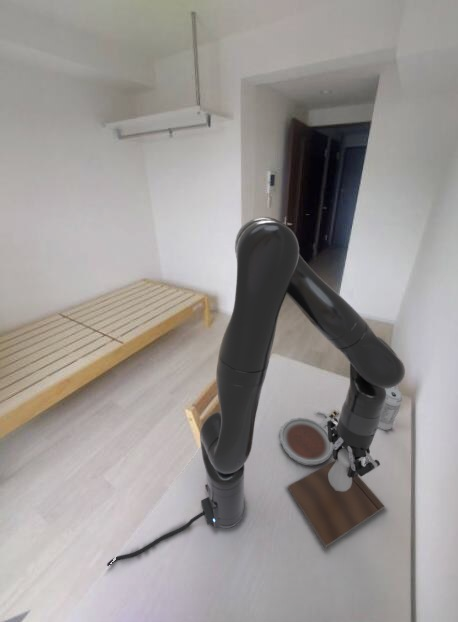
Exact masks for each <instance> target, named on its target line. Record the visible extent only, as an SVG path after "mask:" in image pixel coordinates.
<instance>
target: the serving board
mask: <svg viewBox="0 0 458 622" xmlns="http://www.w3.org/2000/svg"><path fill="white" fill-rule="evenodd" d="M336 461H337V460H334V461H333V462H331V463H329V464H327V465H325V466H323V467H322V468H319V469H318V470H315V471H314V472H311V473H310V474H307V476H304V477H303V478H300V479H299V480H297V481H295V482H293V483H292V484H290V485H288V488H287V490H288V492H290V494H291V496H292V497H293V499H294V501H295V502H296V504H297V505H298V507H299V509H300V511H301V512H302V513H303V515H304V517H305V519H306V520H307V522H308V523H309V525H310V526H311V529H313V532H314V533H315V534H316V537H317V538H318V539H319V542H320V543H321V545H322V546H323V547H324V549H326V548H328V547H329V546H331V545H333V544H334V543H335V542H337V541H338V540H340V539H341V538H343V537H344V536H346V535H347V534H348V533H350V532H352V531H353V530H354V529H356V528H358V527H359V526H360V525H362V524H364V522H365V523H366V521H368V520H369V519H371V518H372V517H374V516H375V515H376V514H378V513H380V512H381V511H383V510H384V508H385V505H384V504H383V502H381V501H380V499H379V498H378V496H377V495H375V493H373V491H372V490H371V489H370V487H368V486H367V484H366V483H365V482H364V481H363V480H362V478H361V476H359V475H358V476H356V477H354V478H352V484H351V487H350V488H349V489H348V490H347V491H344V492H341V491H335V489H334V488H333V487H332V486H331V485H330V482H329V479H328V473H329V471H330V469H331V468H332V466H333V465H334V464H335V462H336Z"/></svg>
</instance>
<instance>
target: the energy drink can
mask: <svg viewBox="0 0 458 622" xmlns="http://www.w3.org/2000/svg"><path fill="white" fill-rule="evenodd" d="M385 390H386V401H385V404H384V407H383V409H382V412H381V415H380V421H379V424H378V429H380V430H382V431H388V430H390V429H392V427H393V425H394V422H395V420H396V417H397V415H398V413H399V410H400V408H401V406H402V403H403V398H402V396H403V395H402V392H401V391H399V390H398V389H396V388H394V387H393V388H388V389H385Z"/></svg>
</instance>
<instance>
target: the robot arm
mask: <svg viewBox="0 0 458 622" xmlns="http://www.w3.org/2000/svg"><path fill="white" fill-rule="evenodd" d="M299 245H300V244H299V241H298V238H297V236H296V234H295V232H294V231H293V230H292V229H291V228H290V227H289V226H288V225H286V224H285V223H284V222H281V221H280V220H278V219H276V218H273V217H271V216H257V217H254V218H251V219H249V220H247V221H246V222H245V223H243V225H242V226H241V227H240V228H239V230H238V232H237V233H236V236H235V240H234V252H235V253H234V254H235V258H236V284H235V295H234V303H233V309H232V313H231V316H230V318H229V322H228V324H227V326H226V328H225V331H224V333H223V336H222V339H221V344H220V347H219V351H218V358H217V364H216V373H215V378H216V379H215V380H216V391H217V399H218V405H219V411H215V412H214V413H211V414H210V415H209V416H207V418H206V419H205V420H204V421H203V423H202V425H201V427H200V431H199V440H200V449H201V456H202V461H203V462H202V463H203V465H204V469H205V474H206V475H205V476H206V484H205V485H204V488H205V498H203V499H201V500H200V505H201V508H202V512H200V513H197V514H196V515H195V516H194V517H192V518H191V519H189V521H188V522H186V524H184V525H182V526H180V527H178V528H176V529H174V530H172V531H170V532H167V533H165V534H164V535H162V536H160V537H157V538H156V539H154V540H153V541H152V542H150V543H148V544H147V545H145V546H143V547H142V548H140V549H138V550H136V551H134V552H130V553H127V554H122V555H118V556H115V557H116V560H115V561H114V562H112V561H113V559H114V558H115V557H113V558H112V559H110V560H109V561H108V562H107V564H106V566H107V567H110V566H111V565H110V563H111V562H112V564H114V563H116V562H118V561H121V560H122V561H123V560H127V559H132V558H134V557H137V556H139V555H141V554H142V553H144V552H146V551H148V550H149V549H150V548H152V547H154V546H155V545H157V544H158V543H160V542H162V541H164V540H165V539H167V538H170V537H172V536H174V535H176V534H178V533H180V532H183V531H184V530H186V529H187V528H188V527H190V526H191V525H192V524H193V523H194V522H195V521H197V520H198V519H200V518H201V517H203V516H204V518H205V520H206V524H207V526H209V525H211V524H213V527H214V529H216V528H223V529H230V528H231V529H232V528H233V527H235V526H237V525H238V524H239V523H240V522H241V520H242V518H243V516H244V512H245V469H246V468H245V466H246V465H245V464H246V462H247V461H248V459H249V457H250V456H251V452H252V448H253V440H254V433H255V423H256V417H257V411H258V407H259V403H260V399H261V393H262V390H263V386H264V382H265V380H266V377H267V372H268V368H269V364H270V359H271V354H272V349H273V347H274V346H273V345H274V341H275V336H276V331H277V324H278V320H279V316H280V312H281V309H282V307H283V304H284V301H285V298H286V296H287V297H288V298H289V299H290V300H291V301H292V302H293V303H294V304H295V306H296V307H297V308H298V309H299V311H301V313H302V314H303V315H304V316H305V317H306V319H307V320H308V321H309V322H310V324H311V325H312V326H313V327H314V328H315V329H316V330H317V331H318V332H319V333H320V334H321V335H322V336H323V337H324V338H325V339H326V340H327V341H328V342H329V343H330V344H331V345H332V346H333V347H334V348H335V349H337V350H338V351H339V352H340V353H341V354H342V355H343V356H344V357H345V358H346V359H347V360H348V362H349V385H348V389H347V392H346V397H345V399H344V402H343V404H342V407H341V411H340V413H339V418H336V417H333V418H332V420H330V421H328V422H327V425H326V426H327V432H328V440H329V441H330V442H332V443H333V452H332V454H331V455H332V459H333V460H334V461H336V460H337V459H338V456H337V455H338V452H339V450H340V449H342V448H345V449H346V450H347V451H348V453H349V461H351V467H350V468H349V471H348V474H347V476H348V477H349V478H351V477H352V478H354V477H356V476H359V477H360V478H361V477H363V476H365V475H367V474H369V473H370V472H372V471H373V470H374V469H377V468H378V467H379V466H380V465H381V463H380V461H379V460H378V459H373V457H372V456H371V450H370V448H371V445H372V444H373V440H374V437H375V435H376V432H377V430H378V429H379V428H378V424H379V421H380V415H381V412H382V409H383V407H384V404H385V401H386V389H388V388H393V389H394V388H395V387H397V386H399V385H400V384H401V383H402V382H403V380H404V378H405V376H406V368H405V365H404V364H405V363H404V362H403V361H402V360H401V358H400V357H399V355H398V354H397V353H396V352H395V351H394V349H393V348H392V346H391V345H390V344H389V343H388V342H387V341H386V340H385V339H383V338H382V337H380V336H377V335H376V334H375V332H374V331H373V329H372V327H370V325H369V324H368V322H367V321H366V320H365V319H364V318H363V316H361V314H360V313H358V312H357V310H355V308H353V306H351V304H350V303H348V301H347V300H345V298H343V297H342V296H341V295H340V294H339V293H338V292H336V291H335V290H334V289H333V288H332V287H331V286H330V284H328V283H326V282H325V281H324V280H323V279H322V278H321V277H320V275H318V274H317V273H316V272H315V271H314V270H313V268H311V266H310V265H309V264H308V263H307V262H306V261H305V260H304V258H303V257H302V255H301V253H300V246H299ZM364 459H365V460H364ZM363 461H364V463H363ZM109 565H110V566H109Z"/></svg>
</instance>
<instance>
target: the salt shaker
mask: <svg viewBox="0 0 458 622" xmlns="http://www.w3.org/2000/svg"><path fill="white" fill-rule="evenodd" d="M337 456H338V459H337V461H336V460H335V461H336V462H335V464H334V465H333V466H332V468H331V469H330V471H329V473H328V479H329V482H330V485H331V486H332V487H333V488H334V489H335V491H341V492H344V491H347V490H348V489H349V488H350V487H351V484H352V477H351V478H349V477H348V476H347V474H348V471H349V468H350V467H351V461H349V453H348V451H347V450H346V449H345V448H344V447H343V448H342V449H340V450H339V452H338V455H337Z"/></svg>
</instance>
